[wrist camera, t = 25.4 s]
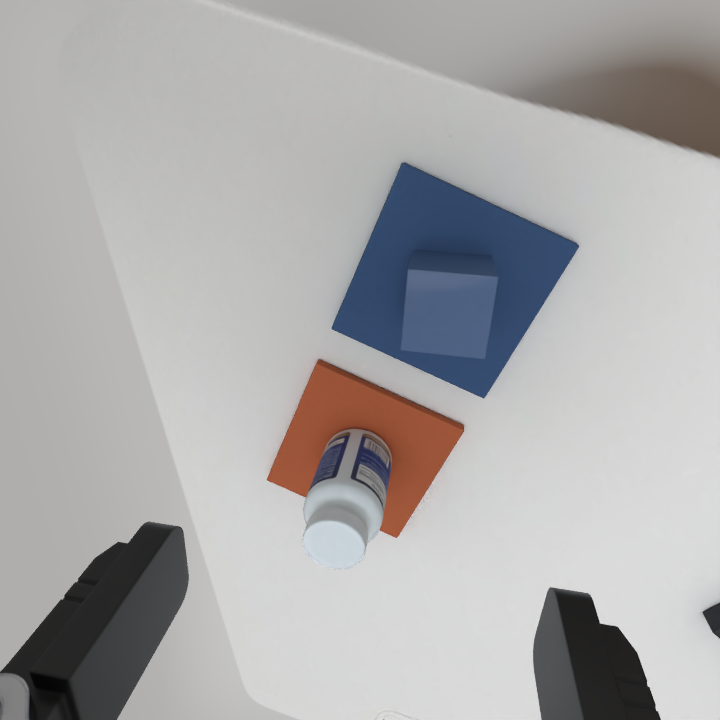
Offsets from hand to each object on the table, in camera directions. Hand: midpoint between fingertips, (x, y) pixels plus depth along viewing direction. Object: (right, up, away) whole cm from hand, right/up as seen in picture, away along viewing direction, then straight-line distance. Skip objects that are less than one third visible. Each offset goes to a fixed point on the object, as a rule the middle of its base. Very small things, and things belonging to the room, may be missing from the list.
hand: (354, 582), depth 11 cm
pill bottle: (0, -3, +29) cm, 30 cm away
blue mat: (+6, +10, +23) cm, 26 cm away
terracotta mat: (0, -2, +30) cm, 30 cm away
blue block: (+6, +9, +23) cm, 25 cm away
